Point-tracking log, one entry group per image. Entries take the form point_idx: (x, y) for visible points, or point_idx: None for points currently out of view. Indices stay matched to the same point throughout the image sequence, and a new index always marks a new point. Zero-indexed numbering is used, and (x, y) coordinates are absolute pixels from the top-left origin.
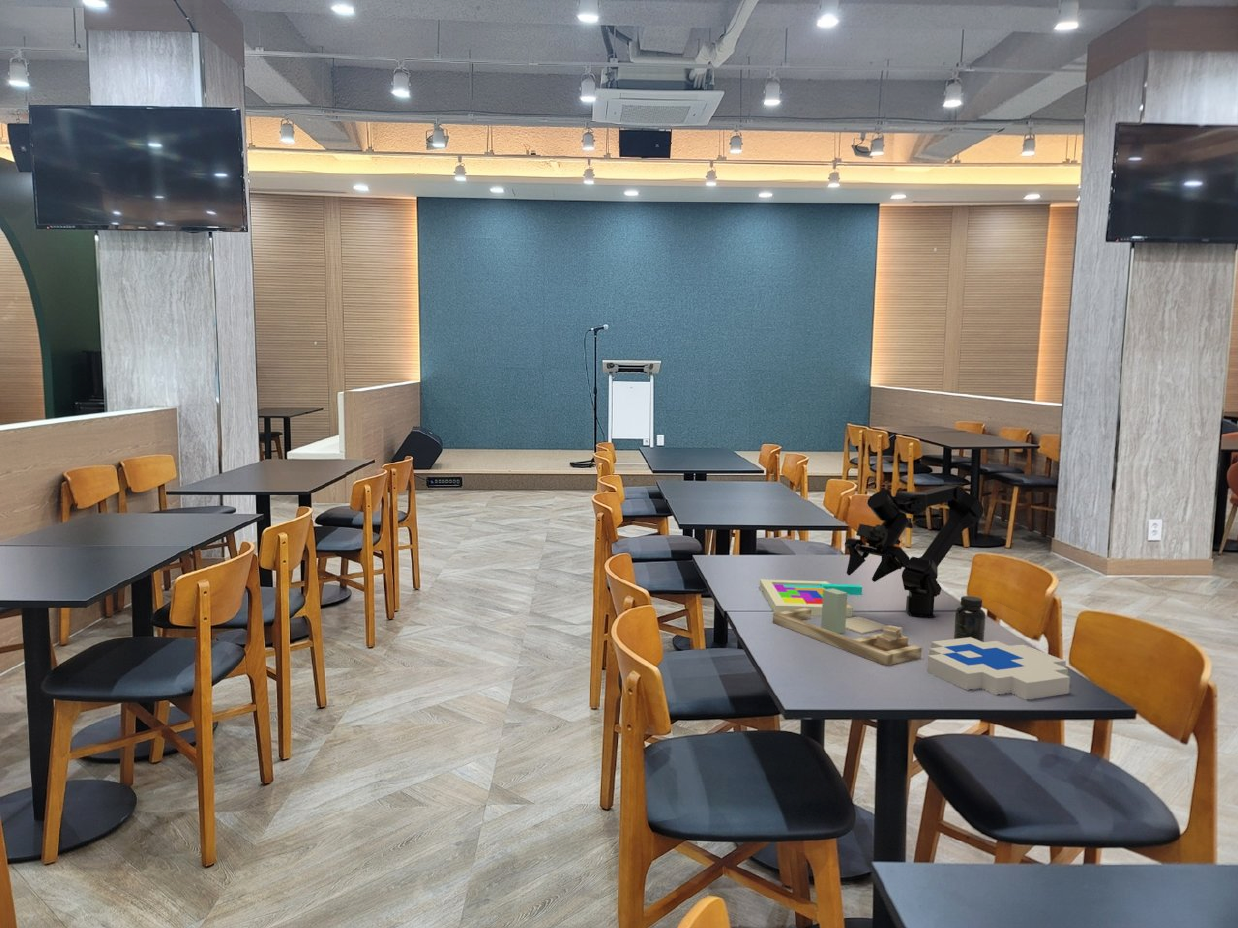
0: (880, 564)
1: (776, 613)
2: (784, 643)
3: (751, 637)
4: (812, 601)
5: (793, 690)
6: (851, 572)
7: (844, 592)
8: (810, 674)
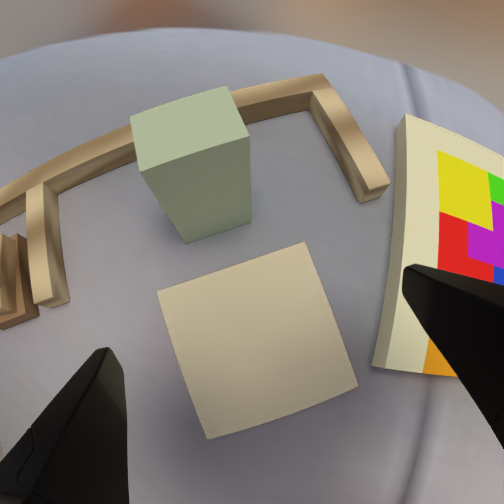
0: (34, 466)
1: (319, 79)
2: (149, 70)
3: (207, 33)
4: (463, 245)
5: (3, 68)
6: (419, 310)
7: (150, 159)
8: (17, 88)
